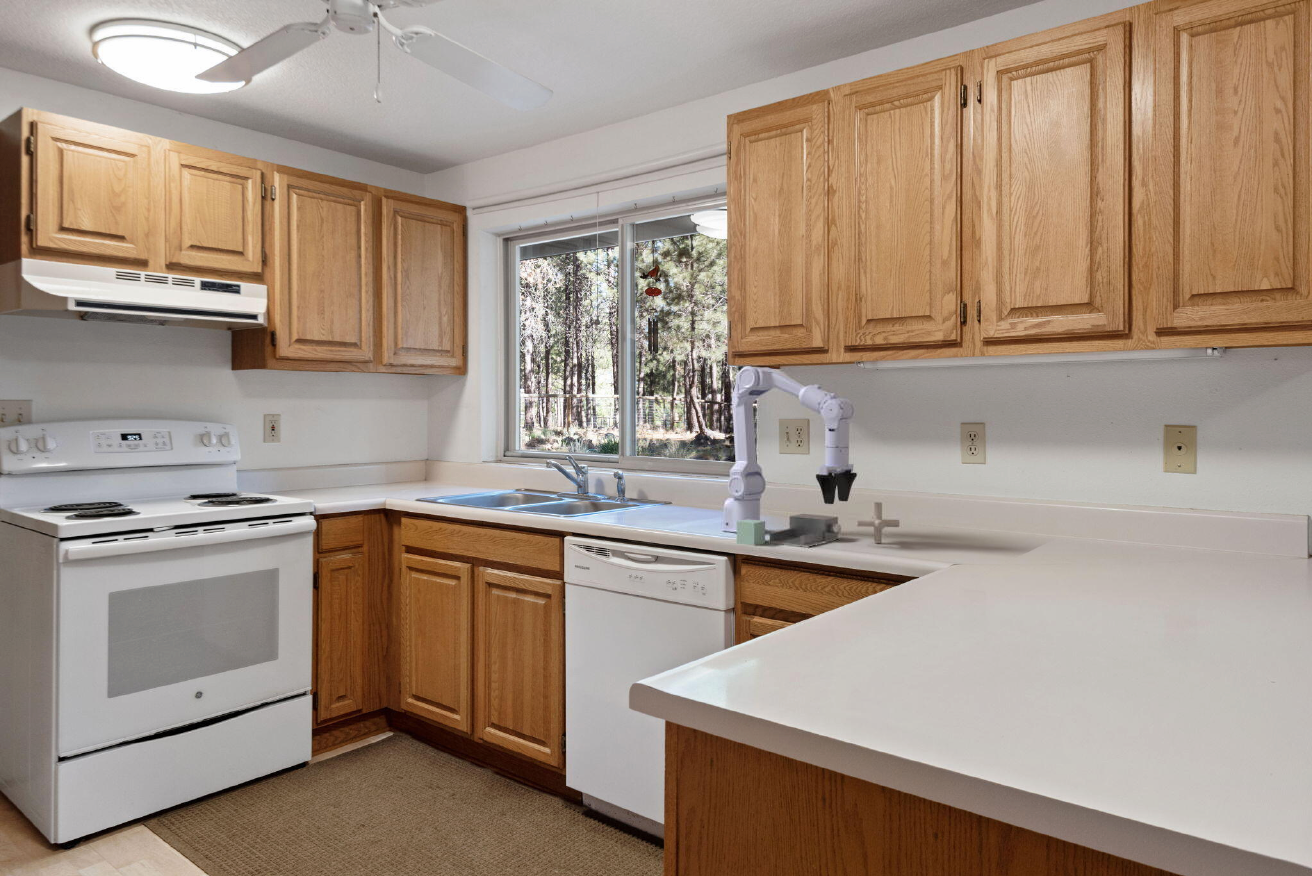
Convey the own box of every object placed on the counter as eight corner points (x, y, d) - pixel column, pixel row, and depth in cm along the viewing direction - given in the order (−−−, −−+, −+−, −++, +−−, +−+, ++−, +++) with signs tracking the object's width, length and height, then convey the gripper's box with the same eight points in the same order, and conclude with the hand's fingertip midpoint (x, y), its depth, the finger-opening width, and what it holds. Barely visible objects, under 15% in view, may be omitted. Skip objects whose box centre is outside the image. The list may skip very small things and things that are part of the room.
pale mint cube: (736, 543, 203) (736, 521, 203) (747, 541, 207) (747, 519, 206) (754, 545, 200) (754, 523, 199) (764, 543, 203) (765, 521, 203)
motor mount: (764, 542, 204) (764, 520, 204) (800, 533, 218) (800, 513, 218) (811, 548, 196) (811, 525, 196) (845, 539, 210) (846, 517, 210)
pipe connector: (894, 540, 208) (895, 500, 208) (902, 547, 198) (903, 505, 198) (854, 539, 209) (854, 500, 209) (859, 546, 199) (860, 504, 199)
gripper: (838, 449, 195) (837, 506, 195) (865, 446, 206) (864, 501, 207) (811, 447, 199) (810, 504, 200) (839, 445, 211) (838, 499, 211)
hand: (836, 502), depth 204 cm, fingers open, 7 cm apart
